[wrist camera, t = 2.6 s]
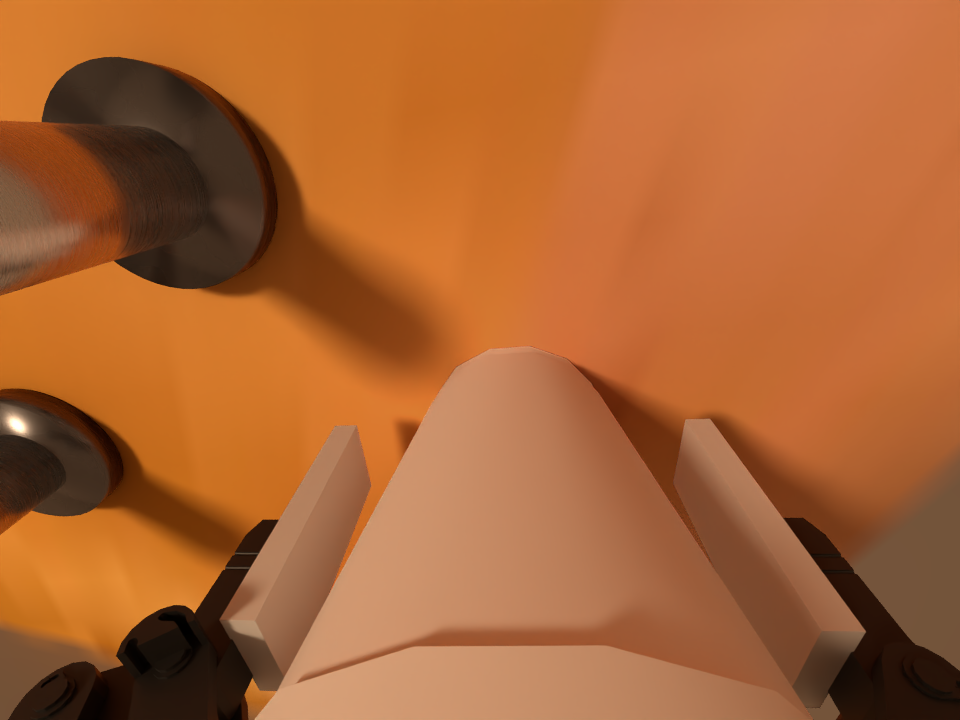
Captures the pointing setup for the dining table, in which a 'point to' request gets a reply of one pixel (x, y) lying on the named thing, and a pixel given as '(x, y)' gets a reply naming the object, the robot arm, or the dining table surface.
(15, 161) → the pegs
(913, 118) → the dining table surface
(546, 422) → the foam cup
